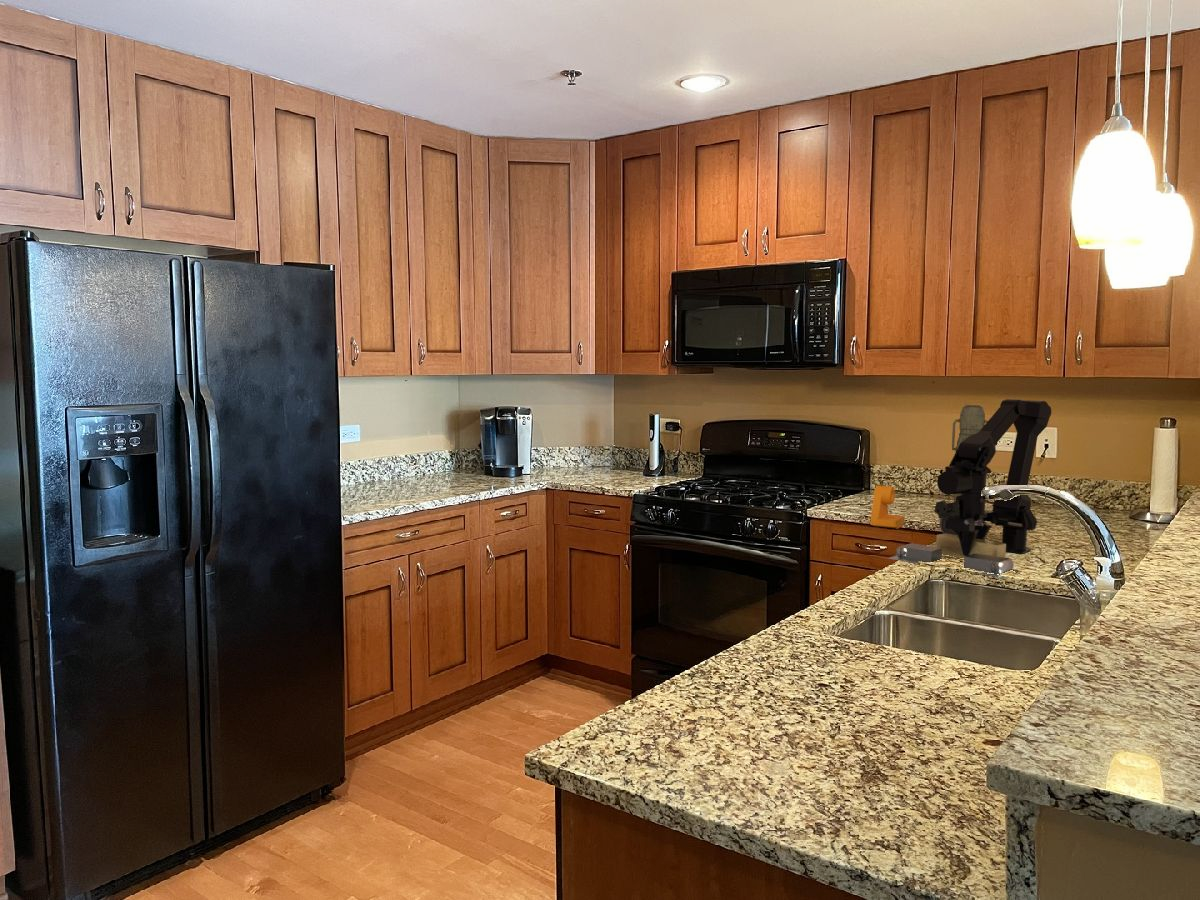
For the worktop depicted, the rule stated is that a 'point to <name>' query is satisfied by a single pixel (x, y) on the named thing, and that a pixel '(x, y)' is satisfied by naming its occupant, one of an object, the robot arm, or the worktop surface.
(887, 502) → the bracket
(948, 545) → the tan wooden block
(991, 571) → the pair of grey blocks
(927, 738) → the worktop surface
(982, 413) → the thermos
